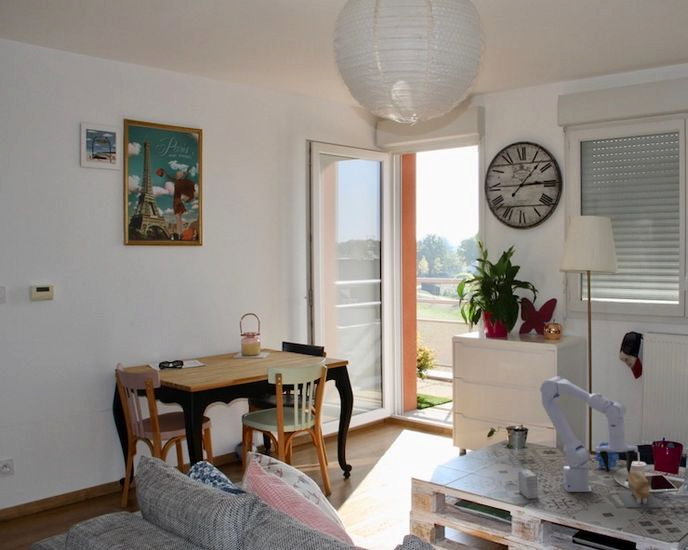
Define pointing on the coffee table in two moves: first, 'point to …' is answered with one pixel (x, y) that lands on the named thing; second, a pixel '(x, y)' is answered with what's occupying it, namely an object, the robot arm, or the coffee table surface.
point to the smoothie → (638, 466)
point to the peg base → (638, 501)
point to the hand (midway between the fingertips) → (617, 471)
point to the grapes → (611, 457)
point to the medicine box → (528, 484)
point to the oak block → (638, 484)
